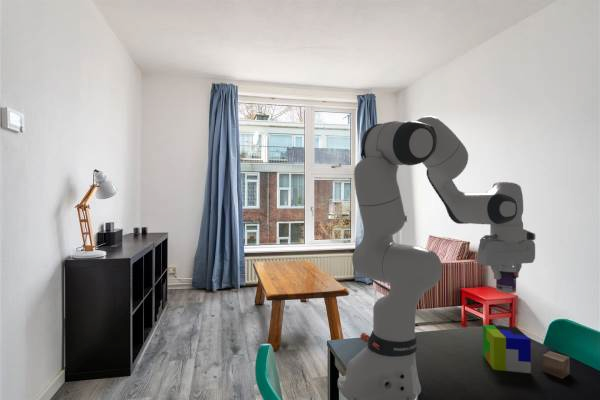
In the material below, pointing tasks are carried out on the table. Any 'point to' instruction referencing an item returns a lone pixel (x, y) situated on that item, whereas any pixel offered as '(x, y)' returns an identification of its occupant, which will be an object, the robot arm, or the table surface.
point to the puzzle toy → (507, 348)
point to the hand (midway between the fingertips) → (506, 278)
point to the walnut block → (556, 364)
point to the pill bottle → (507, 279)
